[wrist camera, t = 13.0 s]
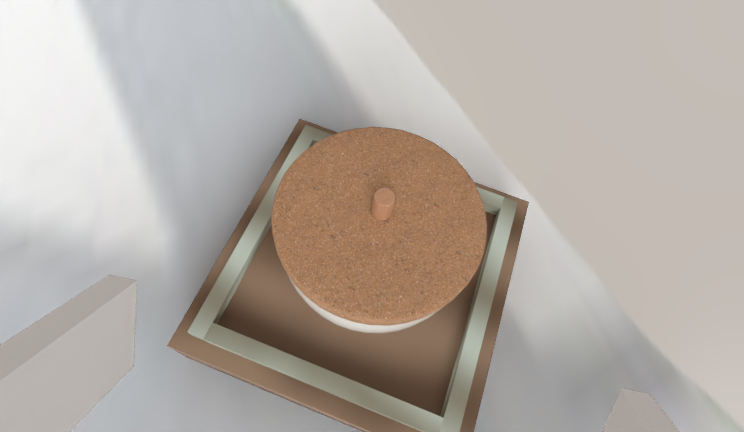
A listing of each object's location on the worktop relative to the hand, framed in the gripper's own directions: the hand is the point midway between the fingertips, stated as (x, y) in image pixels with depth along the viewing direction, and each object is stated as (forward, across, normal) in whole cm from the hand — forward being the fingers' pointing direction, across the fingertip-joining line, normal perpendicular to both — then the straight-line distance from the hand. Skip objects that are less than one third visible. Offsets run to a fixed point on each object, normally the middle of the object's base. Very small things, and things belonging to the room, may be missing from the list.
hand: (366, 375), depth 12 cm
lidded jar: (+16, +1, +4) cm, 17 cm away
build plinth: (+19, +1, +7) cm, 20 cm away
